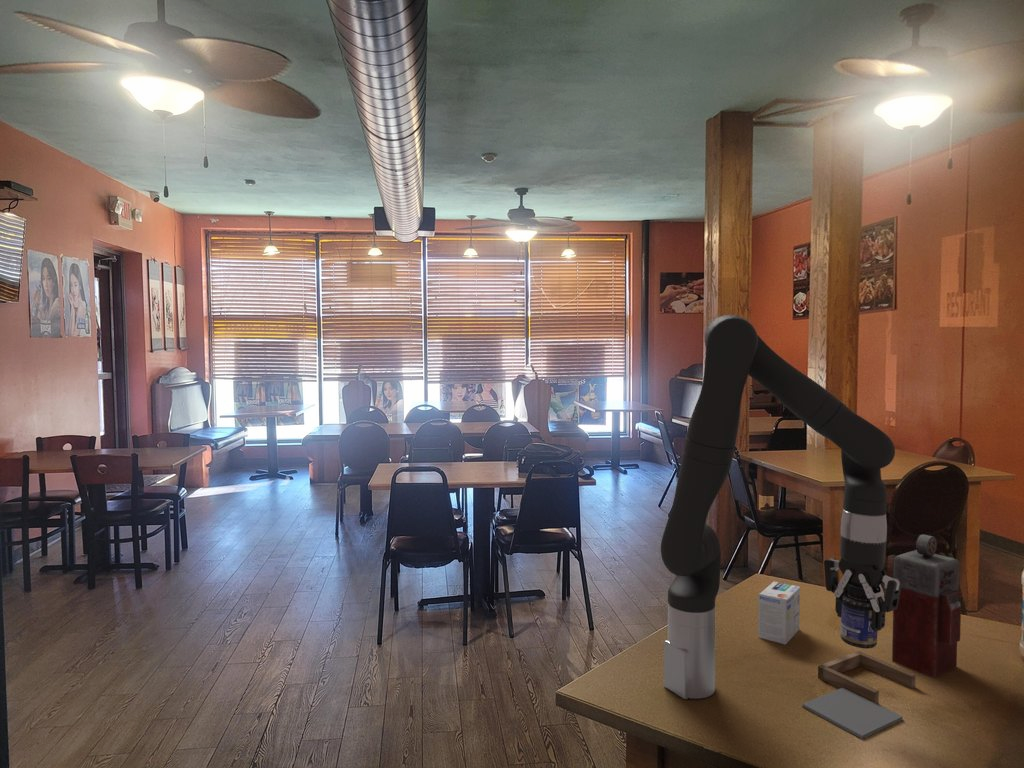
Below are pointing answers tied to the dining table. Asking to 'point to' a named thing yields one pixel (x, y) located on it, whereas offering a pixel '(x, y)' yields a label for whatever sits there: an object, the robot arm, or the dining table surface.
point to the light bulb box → (779, 612)
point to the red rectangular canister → (926, 610)
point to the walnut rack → (836, 667)
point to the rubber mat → (852, 712)
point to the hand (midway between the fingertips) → (858, 622)
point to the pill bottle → (857, 618)
